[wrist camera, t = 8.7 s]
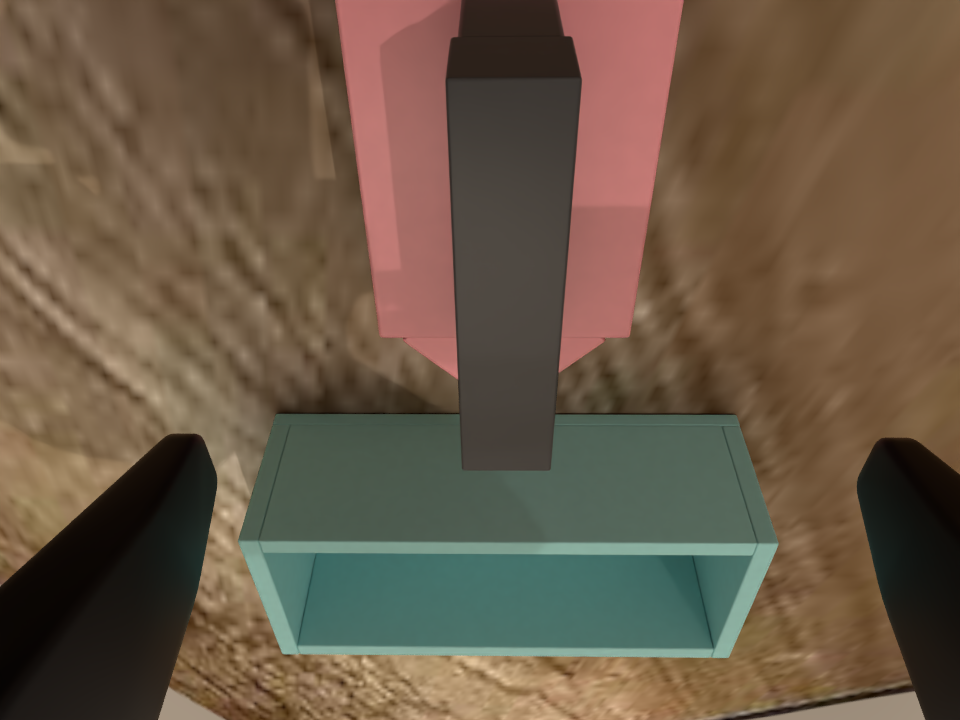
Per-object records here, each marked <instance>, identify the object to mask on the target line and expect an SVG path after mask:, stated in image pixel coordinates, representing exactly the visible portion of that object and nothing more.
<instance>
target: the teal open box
mask: <svg viewBox="0 0 960 720" xmlns="http://www.w3.org/2000/svg"><path fill="white" fill-rule="evenodd" d="M739 426H740V425H739V422H738V419H737V416H736V415H574V414H555V423H554V435H553V448H552V460H551V469H550V470H549V471H464V470H463V469H462V460H461V437H460V414H276V415H275V419H274V422H273V426H272V429H271V433H270V436H269V439H268V443H267V446H266V449H265V453H264V456H263V459H262V463H261V466H260V469H259V473H258V476H257V479H256V483H255V486H254V489H253V492H252V496H251V499H250V502H249V506H248V509H247V512H246V516H245V519H244V522H243V526H242V529H241V532H240V536H239V539H238V543H239V545H240V548H241V550H242V553H243V555H244V558H245V560H246V563H247V565H248V568H249V570H250V573H251V576H252V578H253V581H254V583H255V586H256V588H257V591H258V593H259V596H260V598H261V601H262V603H263V606H264V608H265V611H266V613H267V616H268V618H269V621H270V624H271V626H272V629H273V631H274V634H275V636H276V639H277V641H278V644H279V646H280V649H281V651H282V653H283V654H299V652H300V654H349V655H468V656H586V657H704V658H709V657H712V658H728V657H729V655H730V653H731V651H732V649H733V646H734V644H735V642H736V640H737V637H738V635H739V633H740V631H741V628H742V626H743V624H744V622H745V619H746V617H747V615H748V612H749V610H750V608H751V606H752V603H753V601H754V599H755V597H756V594H757V592H758V590H759V588H760V585H761V583H762V581H763V579H764V576H765V574H766V572H767V570H768V567H769V565H770V563H771V560H772V558H773V556H774V554H775V551H776V549H777V547H778V544H779V543H778V540H777V537H776V534H775V531H774V528H773V525H772V522H771V519H770V516H769V513H768V510H767V507H766V504H765V501H764V498H763V495H762V492H761V489H760V486H759V483H758V480H757V477H756V474H755V471H754V468H753V465H752V462H751V459H750V456H749V453H748V450H747V447H746V444H745V441H744V438H743V435H742V431H741V428H740V427H739Z"/></svg>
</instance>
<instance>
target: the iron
mask: <svg viewBox="0 0 960 720" xmlns="http://www.w3.org/2000/svg"><path fill="white" fill-rule="evenodd" d="M683 2H684V0H335V5H336V12H337V20H338V27H339V35H340V42H341V50H342V57H343V65H344V73H345V80H346V88H347V95H348V103H349V110H350V118H351V125H352V133H353V140H354V148H355V155H356V163H357V170H358V178H359V185H360V193H361V201H362V208H363V216H364V223H365V231H366V238H367V246H368V253H369V261H370V268H371V276H372V283H373V291H374V298H375V305H376V313H377V320H378V328H379V334H380V336H381V337H383V338H403V341H404V342H405V343H407V344H408V345H409V346H411V347H412V348H414V349H415V350H417V351H418V352H419V353H421V354H422V355H424V356H425V357H426V358H428V359H429V360H431V361H432V362H434V363H435V364H436V365H438V366H439V367H441V368H442V369H443V370H445V371H446V372H448V373H449V374H451V375H452V376H453V377H455V378H456V379H458V390H459V413H460V437H461V460H462V469H463V470H464V471H549V470H550V469H551V460H552V448H553V435H554V423H555V411H556V398H557V386H558V374H559V373H560V372H561V371H562V370H564V369H565V368H567V367H568V366H570V365H571V364H573V363H574V362H575V361H577V360H578V359H580V358H581V357H583V356H584V355H586V354H587V353H589V352H590V351H591V350H593V349H594V348H596V347H597V346H599V345H600V344H602V343H603V342H604V341H605V338H627V337H629V335H630V331H631V325H632V319H633V313H634V307H635V300H636V294H637V288H638V282H639V275H640V269H641V263H642V257H643V251H644V244H645V238H646V232H647V226H648V219H649V213H650V207H651V201H652V195H653V188H654V182H655V176H656V170H657V163H658V157H659V151H660V145H661V139H662V132H663V126H664V120H665V114H666V108H667V101H668V95H669V89H670V83H671V76H672V70H673V64H674V58H675V52H676V45H677V39H678V33H679V27H680V20H681V14H682V8H683Z"/></svg>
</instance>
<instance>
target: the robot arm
mask: <svg viewBox="0 0 960 720" xmlns="http://www.w3.org/2000/svg"><path fill="white" fill-rule="evenodd" d="M216 491H217V475H216V471H215V468H214V465H213V463H212V460H211V458H210V455H209V452H208V450H207V447H206V445H205V442H204V440H203V438H202V437H201V436H200V435H198V434H170V435H168V436H166V437H164V438H163V439H162V440H161V441H160V442H159V443H158V444H157V445H155V446H154V447H153V448H152V449H151V450H150V451H149V452H148V453H147V454H146V455H144V456H143V457H142V458H141V459H140V460H139V461H138V462H137V463H136V464H135V465H133V466H132V467H131V468H130V469H129V470H128V471H127V472H126V473H125V474H124V475H122V476H121V477H120V478H119V479H118V480H117V481H116V482H115V483H114V484H113V485H111V486H110V487H109V488H108V489H107V490H106V491H105V492H104V493H103V494H102V495H100V496H99V497H98V498H97V499H96V500H95V501H94V502H93V503H92V504H91V505H89V506H88V507H87V508H86V509H85V510H84V511H83V512H82V513H81V514H80V515H78V516H77V517H76V518H75V519H74V520H73V521H72V522H71V523H70V524H69V525H67V526H66V527H65V528H64V529H63V530H62V531H61V532H60V533H59V534H58V535H56V536H55V537H54V538H53V539H52V540H51V541H50V542H49V543H48V544H47V545H45V546H44V547H43V548H42V549H41V550H40V551H39V552H38V553H37V554H36V555H34V556H33V557H32V558H31V559H30V560H29V561H28V562H27V563H26V564H25V565H23V566H22V567H21V568H20V569H19V570H18V571H17V572H16V573H15V574H14V575H12V576H11V577H10V578H9V579H8V580H7V581H6V582H5V583H4V584H3V585H1V586H0V720H158V718H159V715H160V711H161V708H162V705H163V702H164V698H165V695H166V692H167V689H168V686H169V683H170V679H171V676H172V673H173V670H174V666H175V663H176V660H177V657H178V654H179V650H180V647H181V644H182V641H183V637H184V634H185V631H186V628H187V625H188V621H189V618H190V615H191V612H192V608H193V605H194V601H195V598H196V594H197V590H198V586H199V581H200V576H201V571H202V566H203V560H204V555H205V550H206V544H207V539H208V534H209V528H210V523H211V517H212V512H213V507H214V501H215V496H216ZM857 494H858V499H859V503H860V507H861V512H862V516H863V520H864V524H865V529H866V533H867V537H868V542H869V546H870V550H871V554H872V559H873V563H874V567H875V571H876V576H877V580H878V584H879V588H880V591H881V595H882V599H883V602H884V605H885V608H886V611H887V614H888V617H889V620H890V623H891V625H892V628H893V631H894V634H895V637H896V639H897V642H898V645H899V648H900V650H901V653H902V656H903V659H904V662H905V664H906V667H907V670H908V673H909V676H910V678H911V681H912V684H913V687H914V689H915V692H916V695H917V698H918V700H919V703H920V706H921V709H922V711H923V715H924V717H925V720H960V474H958V473H957V472H956V471H955V470H953V469H952V468H951V467H950V466H948V465H947V464H946V463H945V462H943V461H942V460H941V459H939V458H938V457H937V456H936V455H934V454H933V453H932V452H931V451H929V450H928V449H927V448H926V447H924V446H923V445H922V444H921V443H919V442H918V441H916V440H914V439H911V438H881V439H880V440H879V441H877V442H876V444H875V445H874V447H873V449H872V451H871V453H870V455H869V457H868V459H867V461H866V463H865V465H864V467H863V468H862V470H861V472H860V474H859V477H858V481H857Z"/></svg>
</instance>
